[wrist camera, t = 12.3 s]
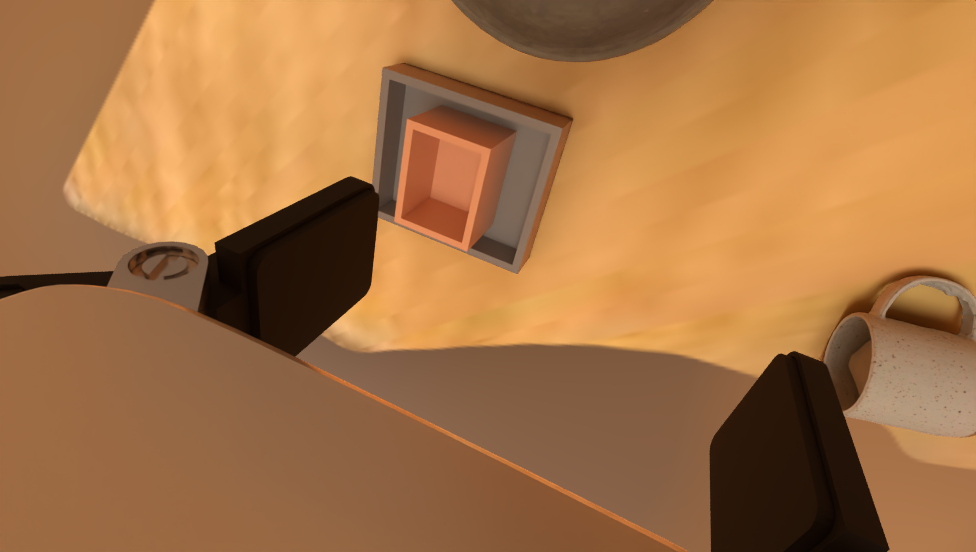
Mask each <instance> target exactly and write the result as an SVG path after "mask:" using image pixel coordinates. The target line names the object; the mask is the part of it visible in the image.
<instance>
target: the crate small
mask: <svg viewBox="0 0 976 552" xmlns="http://www.w3.org/2000/svg"><path fill="white" fill-rule="evenodd" d="M516 133H517V131H514V130H512V129H509V128H506V127H503V126H500V125H497V124H494V123H492V122H489V121H486V120H483V119H480V118H477V117H474V116H472V115H469V114H466V113H463V112H460V111H457V110H454V109H452V108H449V107H446V106H443V105H441V106H439V107H436V108H434V109H431V110H428V111H426V112H423V113H421V114H418V115H416V116H413V117H411V118H408V119H407V124H406V132H405V139H404V147H403V155H402V163H401V171H400V179H399V187H398V195H397V203H396V211H395V219H394V222H396V223H398V224H401V225H403V226H406V227H408V228H410V229H413V230H415V231H418V232H420V233H423V234H425V235H427V236H430V237H432V238H435V239H437V240H440V241H442V242H445V243H447V244H449V245H452V246H454V247H457V248H459V249H462V250H464V251H466V252H467V251H468V250H469V249H470V248H471V247H472V246H473V245H474V244H475V243H476V242H477V241H478V240H479V239H480V237H481V236H482V235H483V234H484V233H485V232H486V231H487V230H488V229H489V228H490V227H491V226H492V225H493V221H494V217H495V213H496V210H497V206H498V202H499V198H500V194H501V190H502V187H503V183H504V179H505V175H506V171H507V167H508V163H509V160H510V156H511V152H512V148H513V144H514V140H515V137H516Z"/></svg>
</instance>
